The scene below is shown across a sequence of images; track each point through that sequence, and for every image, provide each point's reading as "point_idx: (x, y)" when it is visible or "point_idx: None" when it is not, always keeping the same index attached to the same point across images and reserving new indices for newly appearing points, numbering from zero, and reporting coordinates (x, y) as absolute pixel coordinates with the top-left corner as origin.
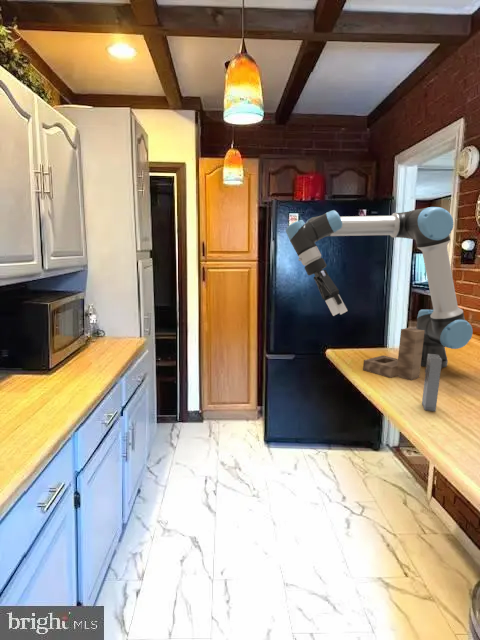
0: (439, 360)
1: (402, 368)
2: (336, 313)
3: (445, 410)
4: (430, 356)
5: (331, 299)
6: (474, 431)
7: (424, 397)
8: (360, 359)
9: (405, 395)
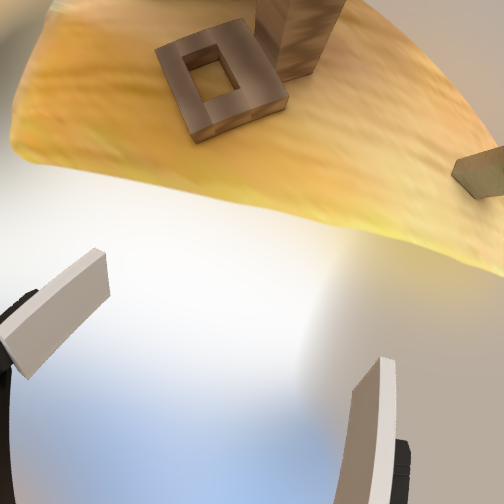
0: None
1: (290, 67)
2: (103, 277)
3: None
4: None
5: (19, 337)
6: None
7: (476, 185)
8: (94, 98)
9: (409, 168)
